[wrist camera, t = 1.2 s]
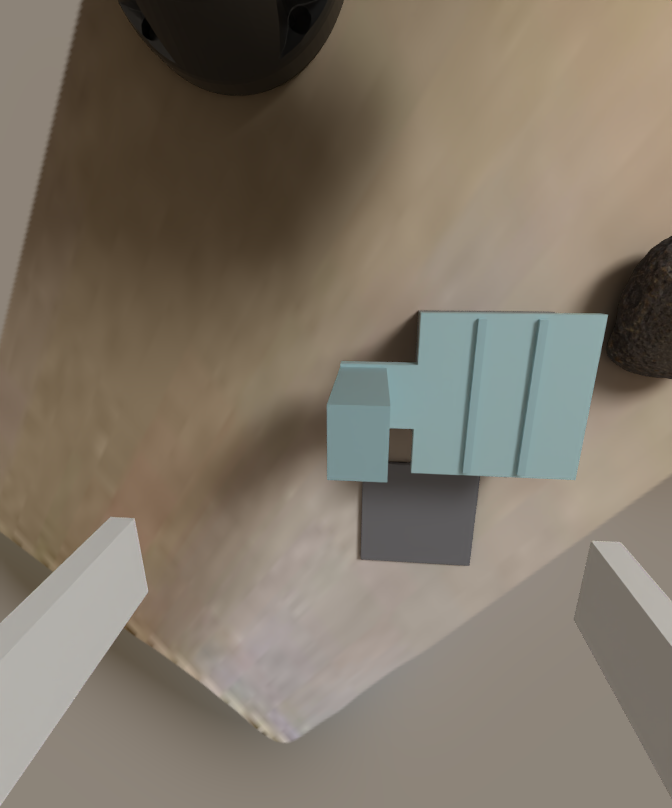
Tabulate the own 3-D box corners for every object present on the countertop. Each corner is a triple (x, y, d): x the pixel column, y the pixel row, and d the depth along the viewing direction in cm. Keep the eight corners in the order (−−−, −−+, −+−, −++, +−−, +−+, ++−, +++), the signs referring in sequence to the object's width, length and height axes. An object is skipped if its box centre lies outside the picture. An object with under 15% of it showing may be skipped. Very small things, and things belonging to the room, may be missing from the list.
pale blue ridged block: (341, 310, 27) (326, 330, 19) (601, 313, 26) (708, 335, 18) (340, 464, 31) (327, 538, 22) (570, 474, 29) (647, 557, 21)
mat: (363, 460, 37) (363, 463, 37) (479, 465, 36) (480, 467, 36) (360, 556, 40) (360, 559, 40) (468, 562, 39) (469, 565, 39)
